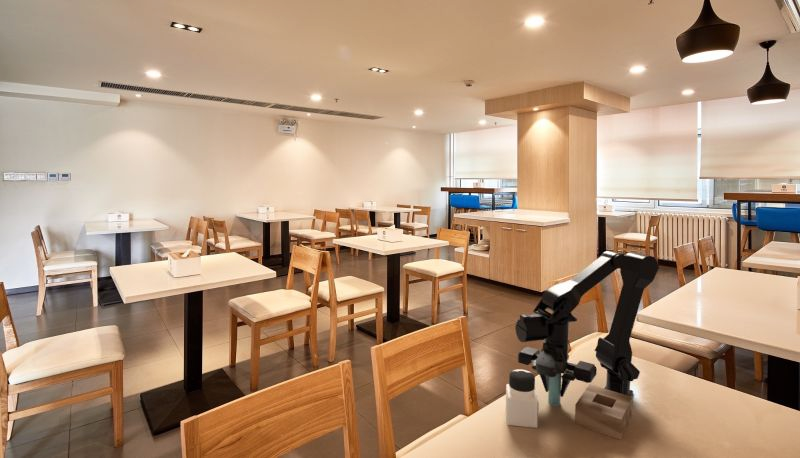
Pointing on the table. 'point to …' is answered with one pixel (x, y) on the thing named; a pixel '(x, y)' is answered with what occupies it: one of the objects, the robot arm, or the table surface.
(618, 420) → the socket block
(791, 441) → the table surface
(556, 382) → the peg
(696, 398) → the table surface
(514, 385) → the medicine bottle
